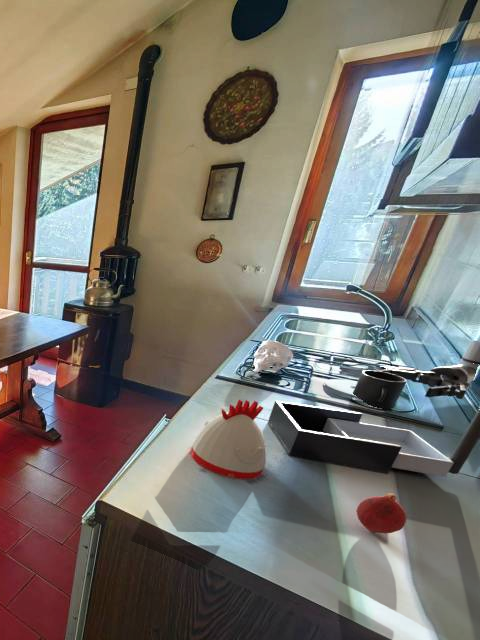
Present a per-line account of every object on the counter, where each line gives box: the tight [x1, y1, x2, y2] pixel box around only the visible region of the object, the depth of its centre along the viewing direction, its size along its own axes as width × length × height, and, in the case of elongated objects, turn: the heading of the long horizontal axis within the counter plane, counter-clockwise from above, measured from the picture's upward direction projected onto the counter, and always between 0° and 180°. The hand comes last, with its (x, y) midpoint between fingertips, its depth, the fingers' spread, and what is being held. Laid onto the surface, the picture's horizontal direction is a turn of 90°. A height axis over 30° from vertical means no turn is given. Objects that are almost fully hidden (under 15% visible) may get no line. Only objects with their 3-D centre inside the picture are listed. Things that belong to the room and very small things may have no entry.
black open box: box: [267, 400, 402, 475], centre depth 93 cm, size 18×17×7 cm
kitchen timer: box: [190, 399, 267, 480], centre depth 85 cm, size 14×14×15 cm
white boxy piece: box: [323, 408, 480, 477], centre depth 87 cm, size 18×15×15 cm
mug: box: [352, 369, 408, 410], centre depth 115 cm, size 9×12×9 cm
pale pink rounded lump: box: [252, 339, 294, 373], centre depth 143 cm, size 10×14×12 cm
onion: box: [355, 492, 407, 534], centre depth 66 cm, size 6×6×8 cm
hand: (399, 383), depth 116 cm, fingers open, 13 cm apart
